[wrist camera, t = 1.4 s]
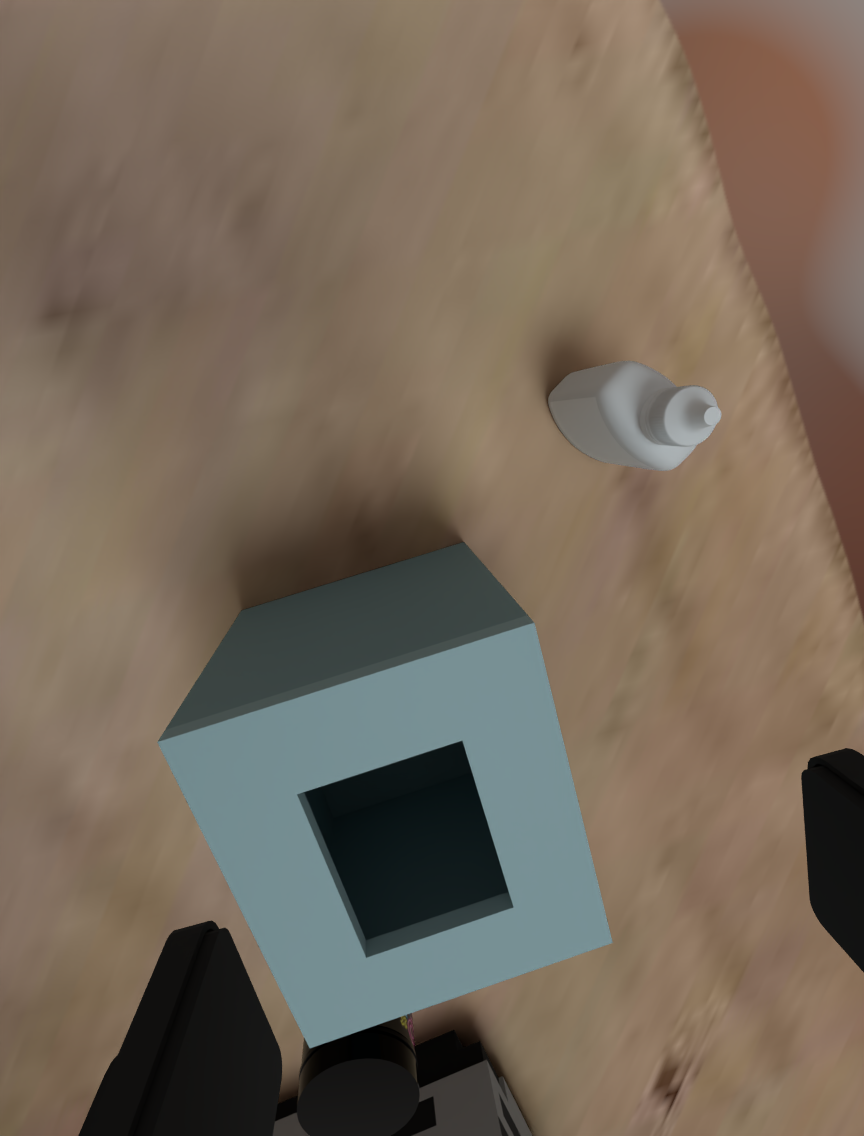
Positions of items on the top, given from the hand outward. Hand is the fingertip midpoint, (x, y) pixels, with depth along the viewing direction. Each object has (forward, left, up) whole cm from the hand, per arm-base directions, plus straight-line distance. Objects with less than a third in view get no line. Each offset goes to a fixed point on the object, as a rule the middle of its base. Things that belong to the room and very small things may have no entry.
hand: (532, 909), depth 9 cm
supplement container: (+27, -11, -26) cm, 39 cm away
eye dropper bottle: (-4, +13, -26) cm, 29 cm away
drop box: (+9, -3, -25) cm, 27 cm away
